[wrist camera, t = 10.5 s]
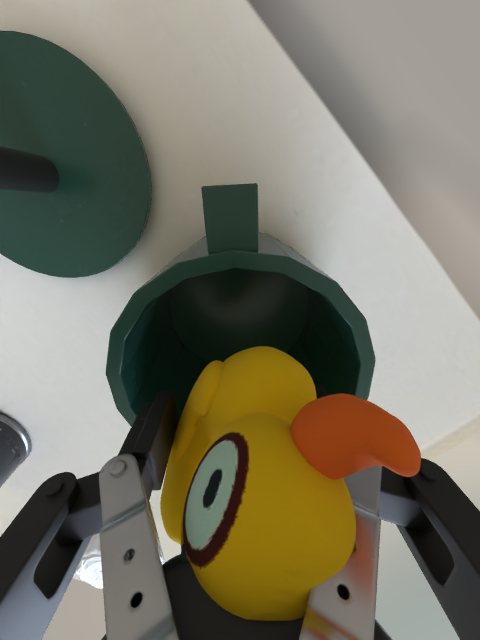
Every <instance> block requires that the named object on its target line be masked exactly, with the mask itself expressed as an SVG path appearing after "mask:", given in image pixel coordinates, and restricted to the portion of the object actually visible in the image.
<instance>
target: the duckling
mask: <svg viewBox="0 0 480 640" xmlns="http://www.w3.org/2000/svg"><path fill="white" fill-rule="evenodd" d="M420 464H421V454H420V450H419V448H418V446H417V444H416V442H415V440H414V438H413V436H412V434H411V432H410V431H409V430H408V428H407V427H406V426H405V425H404V424H403V423H402V422H401V421H400V420H399V419H397V418H396V417H394V416H393V415H391V414H389V413H388V412H386V411H385V410H383V409H382V408H380V407H378V406H377V405H375V404H373V403H371V402H369V401H367V400H364V399H361V398H359V397H356V396H354V395H350V394H343V393H340V394H333V395H329V396H325V397H322V398H319V399H317V397H316V390H315V385H314V382H313V380H312V378H311V376H310V374H309V372H308V371H307V370H306V369H305V368H304V367H303V365H302V364H300V363H299V362H298V361H296V360H295V359H294V358H293V357H291V356H290V355H288V354H286V353H285V352H283V351H280V350H278V349H276V348H273V347H268V346H258V347H252V348H249V349H246V350H243V351H240V352H238V353H235V354H234V355H232V356H230V357H229V358H227V359H226V360H225V361H224V362H221V361H218V360H215V361H212V362H211V363H209V364H208V365H207V366H206V367H205V369H204V370H203V371H202V373H201V375H200V376H199V378H198V380H197V381H196V383H195V385H194V387H193V389H192V391H191V393H190V395H189V398H188V400H187V402H186V405H185V407H184V410H183V412H182V415H181V417H180V420H179V423H178V426H177V429H176V432H175V436H174V441H173V445H172V449H171V453H170V456H169V460H168V465H167V470H166V475H165V479H164V485H163V490H162V495H161V503H160V508H161V515H162V520H163V524H164V528H165V530H166V532H167V534H168V536H169V537H170V538H171V539H172V540H173V541H175V542H177V543H179V544H181V551H182V545H183V543H184V545H185V550H186V555H187V558H188V561H189V562H190V564H191V566H192V568H193V571H194V573H195V575H196V577H197V579H198V581H199V583H200V584H201V586H202V587H203V589H204V590H205V591H206V593H207V594H208V595H209V596H210V597H211V598H212V599H213V600H214V601H215V602H216V603H217V604H218V605H220V606H221V607H222V608H223V609H225V610H227V611H228V612H230V613H231V614H233V615H236V616H239V617H241V618H244V619H247V620H264V621H291V620H295V619H299V618H302V617H304V616H305V613H306V609H307V605H308V601H309V596H310V592H311V588H313V587H315V586H318V585H319V584H320V583H322V582H324V581H326V580H327V579H329V578H330V577H332V576H334V575H335V574H336V573H337V572H339V571H340V570H341V569H342V568H343V567H344V565H345V564H346V562H347V561H348V559H349V557H350V555H351V553H352V552H354V551H355V544H354V543H355V538H356V518H355V512H354V507H353V503H352V500H351V496H350V493H349V491H348V488H347V486H346V483H345V481H344V479H343V478H344V477H347V476H349V475H351V474H353V473H356V472H358V471H361V470H364V469H366V468H369V467H372V466H384V467H386V468H388V469H389V470H391V471H393V472H395V473H397V474H399V475H401V476H405V477H411V476H414V475H416V474H417V473H418V472H419V470H420Z"/></svg>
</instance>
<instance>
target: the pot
mask: <svg viewBox="0 0 480 640" xmlns="http://www.w3.org/2000/svg"><path fill="white" fill-rule="evenodd" d="M202 199H203V209H204V219H205V229H206V236H205V237H204V238H202V239H201V240H199V241H198V242H196V243H195V244H193V245H192V246H191V247H189V248H188V249H187V250H185V251H184V252H182V253H181V254H180V255H179V256H177V257H176V258H175V259H174V260H173V261H171V262H170V263H169V264H168V265H167V266H165V267H164V268H163V269H162V270H161V271H160V272H158V273H157V274H156V275H155V276H154V277H152V278H151V279H150V280H149V281H148V282H146V283H145V284H144V285H143V286H142V287H141V288H139V289H138V290H137V291H136V292H135V293H134V294H133V295H132V297H131V299H130V300H129V302H128V304H127V305H126V307H125V308H124V310H123V312H122V313H121V315H120V317H119V318H118V320H117V321H116V323H115V325H114V326H113V328H112V329H111V333H110V339H109V348H108V357H107V365H106V376H107V379H108V382H109V385H110V388H111V392H112V395H113V398H114V401H115V404H116V407H117V409H118V411H119V412H120V413H121V415H122V416H123V417H124V418H125V420H126V421H127V422H128V423H129V424H130V426H131V427H132V425H133V423H134V421H135V418H136V416H137V414H138V412H139V410H140V409H141V408H142V407H143V406H144V405H145V404H146V403H148V402H153V401H154V399H155V396H156V394H157V392H162V391H173V392H174V395H175V401H176V406H177V411H178V423H179V420H180V417H181V415H182V412H183V410H184V407H185V405H186V402H187V400H188V398H189V395H190V393H191V391H192V389H193V387H194V385H195V383H196V381H197V380H198V378H199V376H200V375H201V373H202V371H203V370H204V369H205V367H206V366H207V365H208V364H209V363H211V362H212V361H215V360H218V361H221V362H224V361H225V360H226V359H227V358H229V357H230V356H232V355H234V354H235V353H238V352H240V351H243V350H246V349H249V348H252V347H258V346H268V347H273V348H276V349H278V350H280V351H283V352H285V353H286V354H288V355H290V356H291V357H293V358H294V359H295V360H296V361H298V362H299V363H300V364H302V365H303V367H304V368H305V369H306V370H307V371H308V372H309V374H310V376H311V378H312V380H313V382H314V385H319V384H322V386H323V387H324V389H325V392H326V394H327V395H328V394H340V393H343V394H350V395H354V396H356V397H359V398H361V399H364V400H367V399H368V397H369V392H370V387H371V382H372V377H373V371H374V366H375V355H374V350H373V346H372V342H371V338H370V334H369V330H368V325H367V321H366V318H365V317H364V316H363V314H362V313H361V312H360V311H359V309H358V308H357V307H356V306H355V304H354V303H353V302H352V301H351V299H350V298H349V297H348V296H347V294H346V293H345V292H344V291H343V289H342V288H341V287H340V286H339V284H338V283H337V282H336V281H334V280H333V279H332V278H330V277H329V276H328V275H327V274H325V273H324V272H323V271H321V270H320V269H319V268H317V267H316V266H315V265H313V264H312V263H311V262H310V261H308V260H307V259H306V258H304V257H303V256H302V255H300V254H299V253H298V252H297V251H295V250H294V249H293V248H291V247H290V246H288V245H286V244H284V243H282V242H280V241H279V240H277V239H275V238H273V237H271V236H270V235H268V234H265V233H259V232H258V185H257V184H256V183H254V184H236V185H218V186H203V187H202Z"/></svg>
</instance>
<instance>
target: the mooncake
mask: <svg viewBox="0 0 480 640" xmlns="http://www.w3.org/2000/svg"><path fill="white" fill-rule="evenodd" d="M75 573H76V574H77V575H79V579H81V580H83V581H86V582H87V583H88V584H90V585H93V586H94V587H95V588H97V589H103V579H102V565H101V551H100V537H99V533H98V534H95V535H93V536H92V538H91V540H90V542H89V544H88V547H87V549H86V551H85V553H84V555H83V557H82V559H81V561H80V563H79V565H78V567H77V569H76V571H75Z"/></svg>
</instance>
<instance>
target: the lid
mask: <svg viewBox="0 0 480 640" xmlns="http://www.w3.org/2000/svg"><path fill="white" fill-rule="evenodd" d="M150 204H151V178H150V169H149V165H148V161H147V156H146V152H145V150H144V147H143V144H142V141H141V138H140V136H139V133H138V131H137V129H136V127H135V125H134V123H133V121H132V119H131V117H130V116H129V114H128V112H127V111H126V109H125V107H124V106H123V104H122V103H121V102H120V100H119V99H118V98H117V96H116V95H115V93H114V92H113V91H112V90H111V89H110V88H109V86H108V85H107V84H106V83H105V82H104V81H103V80H102V79H101V78H100V77H99V76H98V75H97V74H96V73H95V72H94V71H93V70H92V69H90V68H89V67H88V66H87V65H86V64H85V63H84V62H82V61H81V60H80V59H78V58H77V57H75V56H74V55H73V54H71V53H70V52H68V51H67V50H65V49H63V48H61V47H59V46H58V45H56V44H54V43H52V42H50V41H48V40H45V39H42V38H39V37H36V36H34V35H30V34H25V33H20V32H15V31H0V253H1V254H2V255H4V256H5V257H7V258H9V259H10V260H12V261H13V262H15V263H17V264H19V265H22V266H24V267H26V268H28V269H31V270H33V271H36V272H39V273H43V274H47V275H51V276H57V277H69V278H77V277H85V276H90V275H94V274H98V273H100V272H102V271H105V270H107V269H109V268H111V267H113V266H114V265H116V264H118V263H119V262H121V261H122V260H123V259H124V258H125V257H126V256H127V255H128V254H129V253H130V252H131V251H132V250H133V248H134V247H135V246H136V244H137V243H138V241H139V239H140V238H141V236H142V234H143V231H144V229H145V227H146V224H147V220H148V216H149V212H150Z"/></svg>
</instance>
